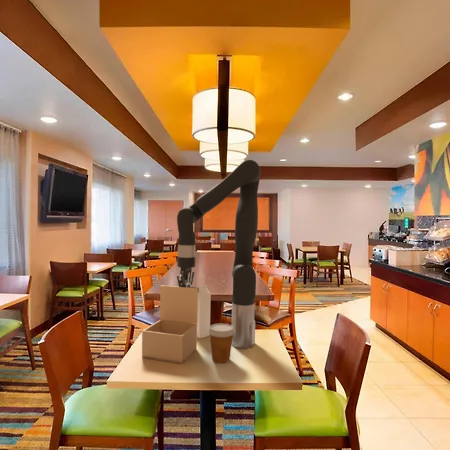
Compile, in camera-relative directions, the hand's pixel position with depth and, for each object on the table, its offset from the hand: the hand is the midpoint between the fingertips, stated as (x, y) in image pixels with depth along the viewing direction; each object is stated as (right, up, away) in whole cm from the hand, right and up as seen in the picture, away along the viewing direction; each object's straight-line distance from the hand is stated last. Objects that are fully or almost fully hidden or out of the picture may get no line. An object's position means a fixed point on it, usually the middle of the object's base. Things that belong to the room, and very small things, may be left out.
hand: (185, 296), depth 143 cm
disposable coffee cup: (+15, -20, -18) cm, 31 cm away
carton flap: (-2, -2, -7) cm, 8 cm away
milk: (+6, -19, +7) cm, 21 cm away
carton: (-4, -19, -13) cm, 24 cm away
